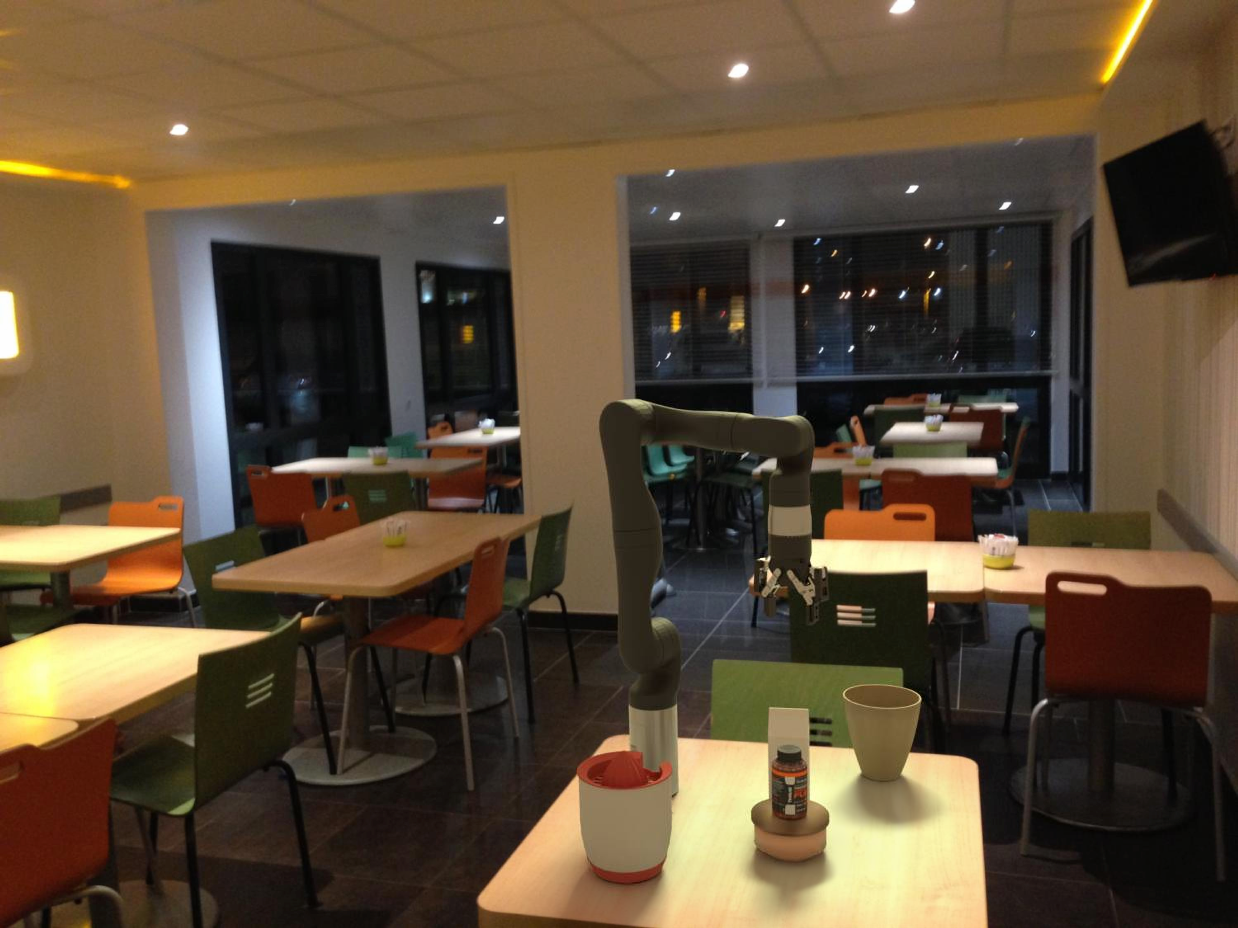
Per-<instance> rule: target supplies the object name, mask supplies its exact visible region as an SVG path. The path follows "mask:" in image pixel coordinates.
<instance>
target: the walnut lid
mask: <svg viewBox="0 0 1238 928" xmlns="http://www.w3.org/2000/svg"><path fill="white" fill-rule="evenodd" d="M750 820H751V822H752V824H753V826H754V825H755V826H756V827H758V828H759V829H761V830H763V831H765V832H768V833H771V834H776V835H781V836H807V835H812V834H815V833H818V832H820V831H822V830H824V829H825V828H826V829H827V828H828V826H829V824H830V812H829V810H828V809H827V808H826V806H824V805H823V804H820V803H819V802H816V801H814V800H811V799H810V800H808V799H807V814H806V815H805V816H804V817H802V818H800V819H794V820H789V819H783V818H780V817H778V816H776V815H774V813H773V812H772V798H771V799H769V798H767V799H763V800H761V801H759V802H756V804H754V805H753V807H752V808H751V810H750Z"/></svg>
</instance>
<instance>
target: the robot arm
mask: <svg viewBox="0 0 1238 928" xmlns="http://www.w3.org/2000/svg"><path fill="white" fill-rule="evenodd" d="M599 416H600V417H599V420H598V430H599V431H598V432H599V437H600V444H601V448H602V453H603V458H604V463H605V468H606V474H607V484H608V492H609V493H608V494H609V502H610V503H609V504H610V510H611V511H610V513H611V529H612V539H613V550H614V558H615V566H616V567H615V569H616V582H617V599H618V601H617V605H618V607H617V614H618V615H617V642H618V643H617V644H618V646H617V647H618V653H619V656H620V658H621V661H622V663H623V665H624V666H625V668H626V669H627V670H628V671H629V672H631V673H633V674H636V675H638V677H637V679H636V681H634V683H633V684H632V685H631V686H630V687H629V690H628V693H627V694H628V720H629V721H628V723H629V724H628V725H629V727H628V728H629V737H628V741H629V742H628V745H629V746H628V747H629V750H628V751H637V752H643V767H644V768H646V769H649V770H651V771H653V772H659V766H660V765H661V764H663V763H664V762H666V761H668V762H669V763H670V764H671V766H672V768H673V771H672V774H671V781H672V783H671V792H672V796H673V795H675V794H677V793H678V791H680V789H679V787H680V786H679V785H680V784H679V783H680V778H679V742H678V738H679V737H678V700H677V699H678V697H677V696H678V693H679V690H680V688H681V684H682V641H681V637H680V636H681V635H680V633H679V631H678V629H677V627H676V625H675V624H674V623H673V622H672V621H671V620H670V619H668V618H664V617H660V616H659V617H658V616H656V617H653V618H652V609H651V604H652V603H651V602H652V594H653V593H652V592H653V590H654V585H655V582H656V579H657V576H658V574H659V573H658V572H659V571H660V570H659V569H660V566H661V563H662V559H663V553H664V552H663V551H664V545H663V544H664V543H663V532H662V521H661V516H660V513H659V510H658V507H657V504H656V501H655V500H654V498H653V496H652V493H651V492H650V490H649V488H648V485H647V483H646V480H645V477H644V472H643V471H644V470H643V464H642V447H644V446H646V445H652V444H655V445H656V444H665V443H675V444H676V443H680V444H686V445H691V446H695V447H698V448H699V447H700V448H703V449H707V450H712V451H721V452H732V453H741V454H742V453H749V454H753V455H757V456H762V457H766V458H767V457H768V458H773V459H776V463H775V469H774V471H773V472H772V473H771V474H770V477H769V482H768V483H769V484H768V489H769V490H768V493H769V494H768V495H769V497H768V498H769V499H768V500H769V501H768V502H769V503H768V505H769V506H768V507H769V508H768V515H767V531H768V532H767V535H768V536H767V538H768V551H767V552H768V556H769V560H768V558H767V557H761V558H758V559H755V560H754V565H753V587H752V588H753V591H754V592H755V593H759V594H761V596H762V598H763V613H764V615H765V618H767V619H772V618H774V617H776V615H777V609H776V608H777V607H776V606H777V596H776V595H774V594H776V592H777V591H778V589H779V588H786V587H787V588H790V589H792V590H795V589H796V590H797V592H798V593H799V594H800V595H802V596H803V599H804V600H805V602H806V604H805V620H806V621H805V622H806V623H805V624H806V626H813V625H815V624H816V623H817V622H818V621H819V617H820V616H819V614H820V613H819V608H820V607H819V605H820V603H821V602H824V601H827V600H829V599H830V594H829V593H830V592H829V591H830V589H829V576H828V575H829V572H828V566H826V565H821V566H813V565H812V562H811V558H812V554H813V546H812V544H813V543H812V542H813V539H812V534H813V533H812V531H813V530H812V528H813V527H812V520H813V519H812V513H811V505H810V504H811V501H810V500H811V498H810V496H811V495H810V494H811V491H810V489H811V486H810V477H811V476H810V475H811V472H812V468H813V461H814V455H815V447H816V445H815V444H816V439H815V437H816V436H815V432H814V429H813V426H812V424H811V423H810V421H809V420H808V419H806V418H805V417H803V416H801V415H795V414H794V415H793V414H792V415H787V416H783V417H765V416H755V415H753V414H751V413H745V412H734V411H733V412H731V411H730V412H729V411H711V410H707V411H706V410H687V409H679V408H674V407H669V406H666V405H665V406H664V405H661V404H657V403H653V402H650V401H646V400H642V399H639V398H628V399H619V400H618V399H617V400H613V401H611V402H609V403H608V404H606V405H605V406H604V408H603V409H602V411H601V413H600V415H599ZM768 571H770V573H771V577H770V578H769V579H768ZM810 576H811V577H810ZM811 578H812V579H813V581H812V579H811Z"/></svg>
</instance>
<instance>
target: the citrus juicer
mask: <svg viewBox="0 0 1238 928" xmlns="http://www.w3.org/2000/svg"><path fill="white" fill-rule="evenodd" d="M672 771H673V768H672V766H671V764H670V763H669V762H668V761H666V762H664V763H663V764H661V765H660V766H659V772H653V771H651V770H649V769H646V768H644V767H643V752H637V751H629V750H625V749H623V750H620V751H619V750H618V751H610V752H605V753H600V754H596V755H593V756H591V757H589V758H586V759H585V760H584V761H582V762H581V763H580V764H579V765H578V767H577V769H576V774H577V777H578V797H579V798H578V799H579V801H578V802H579V823H580V824H579V825H580V833H581V839H582V843H583V847H584V850H585V853H586V858H587V860H588V863H589V865H590V867H591V870H592V871H593V873H594V874H595V875H596V876H597V877H599V878H600V879H603V880H606V881H610V882H613V883H619V884H620V883H621V884H624V885H625V884H626V885H630V884H633V883H638V882H643V881H647V880H649V879H651V878H653V877H656V876H657V875H658V874H659V873H660V872H661V871H662V869H663V867H664V864H665V862H666V860H667V857H668V851H669V847H670V843H671V836H672V831H673V830H672V828H673V804H672V802H673V801H672V800H673V799H672V798H673V797H672V796H673V795H672V792H671V783H672V781H671V774H672Z"/></svg>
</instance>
